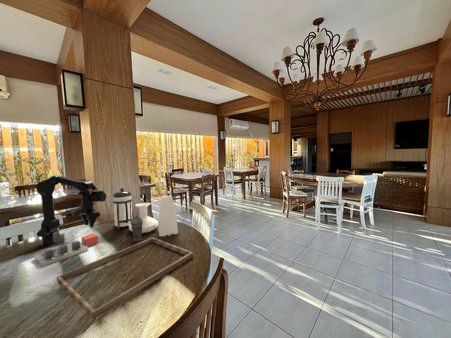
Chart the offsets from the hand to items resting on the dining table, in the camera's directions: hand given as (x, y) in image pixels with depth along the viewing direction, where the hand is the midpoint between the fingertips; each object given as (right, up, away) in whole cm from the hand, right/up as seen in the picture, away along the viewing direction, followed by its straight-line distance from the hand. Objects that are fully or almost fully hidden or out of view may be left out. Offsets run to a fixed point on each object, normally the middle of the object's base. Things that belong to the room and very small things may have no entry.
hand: (89, 226), depth 121 cm
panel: (-6, -12, -13) cm, 18 cm away
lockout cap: (0, -11, +1) cm, 11 cm away
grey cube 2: (-4, -10, -14) cm, 18 cm away
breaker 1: (-8, -11, -19) cm, 23 cm away
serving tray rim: (+40, -13, -26) cm, 49 cm away
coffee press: (+7, -9, +29) cm, 31 cm away
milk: (+44, -10, +18) cm, 48 cm away
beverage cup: (+28, -11, +6) cm, 30 cm away
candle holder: (+25, -10, +22) cm, 35 cm away
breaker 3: (-1, -10, -9) cm, 13 cm away
